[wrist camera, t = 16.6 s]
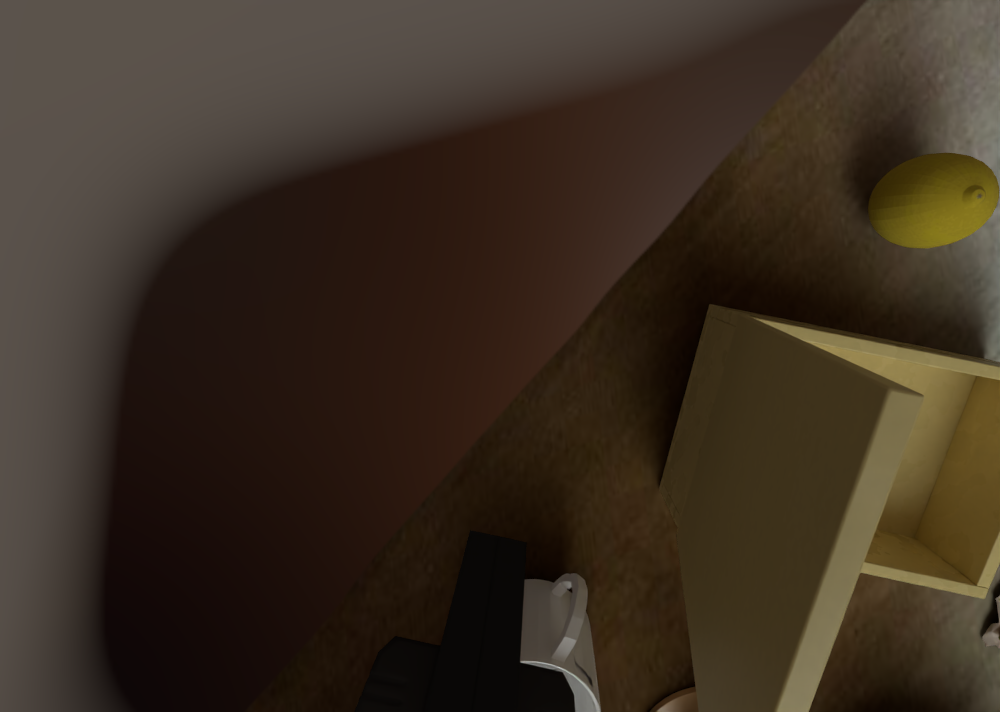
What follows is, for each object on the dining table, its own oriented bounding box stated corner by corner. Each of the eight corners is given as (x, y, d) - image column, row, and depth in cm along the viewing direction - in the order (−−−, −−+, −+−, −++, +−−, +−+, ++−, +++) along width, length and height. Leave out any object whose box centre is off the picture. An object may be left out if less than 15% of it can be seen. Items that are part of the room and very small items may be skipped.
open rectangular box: (985, 358, 38) (1078, 381, 32) (914, 543, 41) (985, 599, 35) (709, 303, 39) (743, 315, 32) (658, 488, 42) (680, 534, 35)
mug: (544, 692, 46) (545, 800, 37) (459, 631, 46) (438, 726, 37) (635, 595, 44) (660, 685, 35) (547, 529, 43) (548, 604, 34)
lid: (927, 395, 12) (888, 387, 13) (747, 883, 15) (717, 870, 16) (753, 317, 32) (739, 314, 32) (688, 539, 35) (675, 535, 35)
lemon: (851, 257, 38) (931, 260, 30) (838, 177, 37) (918, 158, 29) (935, 235, 37) (1040, 232, 29) (924, 153, 36) (1030, 127, 28)
